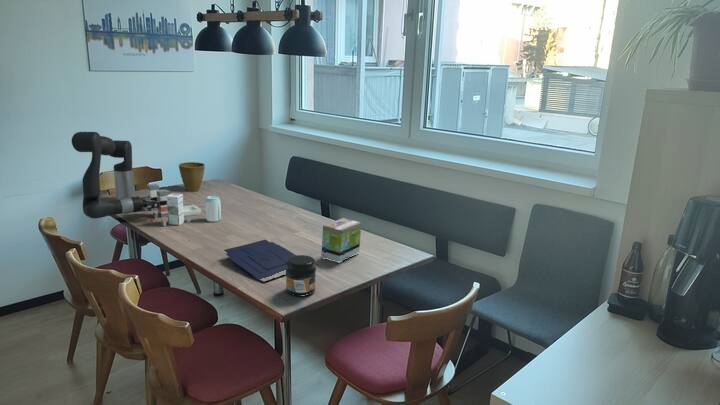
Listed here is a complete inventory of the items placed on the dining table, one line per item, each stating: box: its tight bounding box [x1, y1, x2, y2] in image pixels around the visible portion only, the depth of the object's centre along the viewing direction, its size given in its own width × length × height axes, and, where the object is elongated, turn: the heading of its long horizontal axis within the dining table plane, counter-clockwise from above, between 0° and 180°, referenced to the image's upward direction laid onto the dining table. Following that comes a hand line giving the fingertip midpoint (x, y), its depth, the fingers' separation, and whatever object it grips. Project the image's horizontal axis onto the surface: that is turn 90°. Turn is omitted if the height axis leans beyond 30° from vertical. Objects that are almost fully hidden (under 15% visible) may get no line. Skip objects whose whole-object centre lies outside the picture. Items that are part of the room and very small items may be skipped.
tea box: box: [321, 217, 362, 261], centre depth 215 cm, size 15×10×15 cm, turn 148°
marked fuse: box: [157, 188, 171, 219], centre depth 258 cm, size 5×5×13 cm
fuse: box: [146, 183, 160, 212], centre depth 268 cm, size 5×5×13 cm
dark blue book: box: [223, 239, 296, 281], centre depth 205 cm, size 24×30×4 cm
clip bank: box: [142, 207, 191, 227], centre depth 258 cm, size 32×15×2 cm, turn 41°
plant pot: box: [178, 161, 206, 193], centre depth 308 cm, size 15×15×16 cm
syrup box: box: [167, 193, 185, 226], centre depth 247 cm, size 6×6×14 cm
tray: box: [183, 204, 202, 218], centre depth 265 cm, size 10×10×2 cm
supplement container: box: [285, 254, 317, 296], centre depth 181 cm, size 10×10×12 cm
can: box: [205, 195, 222, 223], centre depth 255 cm, size 7×7×12 cm
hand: (163, 200), depth 258 cm, fingers open, 8 cm apart
